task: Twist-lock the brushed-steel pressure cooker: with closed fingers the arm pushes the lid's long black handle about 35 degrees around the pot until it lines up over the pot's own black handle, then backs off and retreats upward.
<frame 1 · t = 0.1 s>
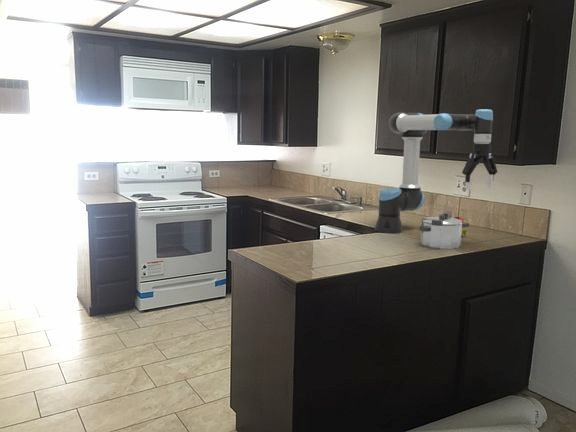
hand: (478, 188, 236), 28 cm above the worktop, fingers open, 13 cm apart
bird rattle: (456, 236, 265), on the worktop
lid: (443, 217, 244), point 13 cm above the worktop, hinge at 35.0°
pot: (440, 244, 244), on the worktop
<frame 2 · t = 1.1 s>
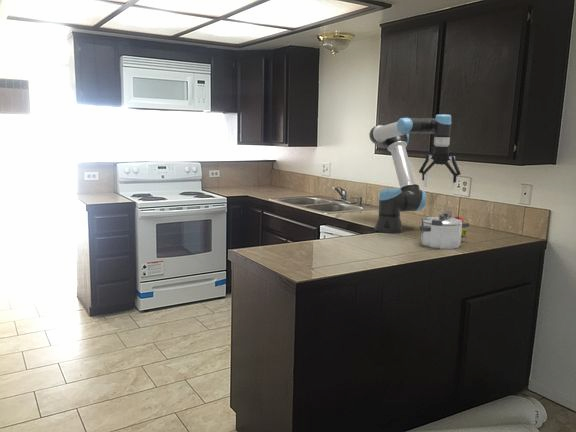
hand: (438, 188, 253), 26 cm above the worktop, fingers open, 13 cm apart
nothing on the worktop moved.
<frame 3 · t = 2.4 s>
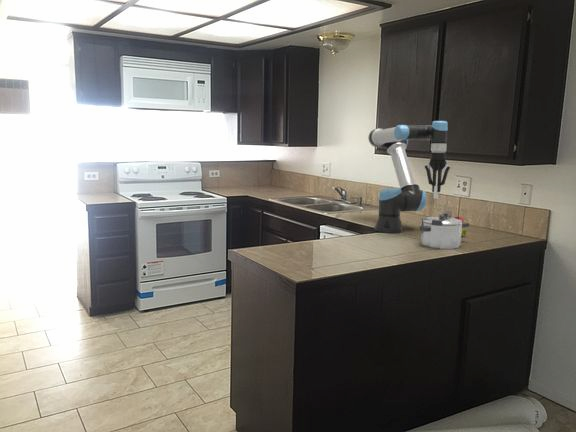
hand: (435, 198, 255), 21 cm above the worktop, fingers closed
nothing on the worktop moved.
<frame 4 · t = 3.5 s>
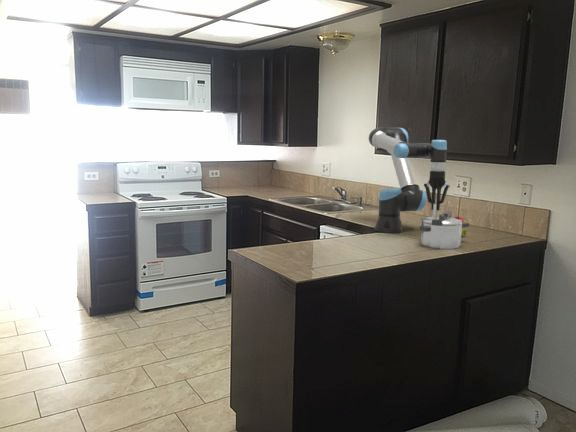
hand: (435, 216, 256), 11 cm above the worktop, fingers closed
nothing on the worktop moved.
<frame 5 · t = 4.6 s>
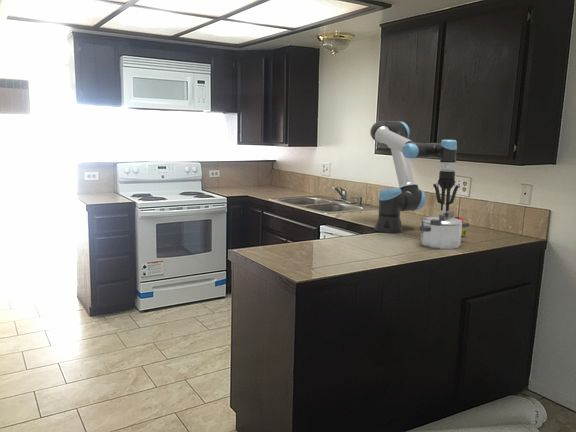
hand: (444, 217, 254), 12 cm above the worktop, fingers closed
lid: (443, 217, 244), point 13 cm above the worktop, hinge at 32.0°, touching gripper
everything else where it was.
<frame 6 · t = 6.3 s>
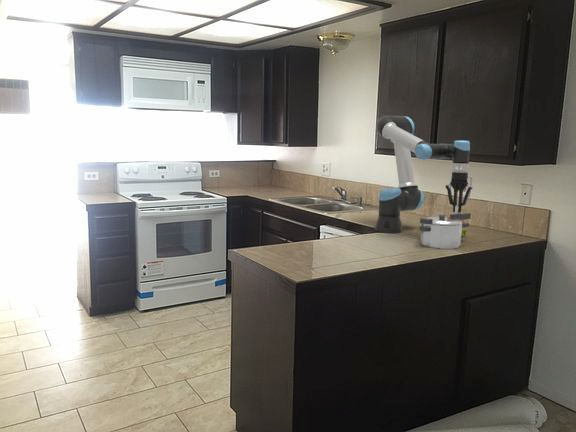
hand: (456, 218, 251), 11 cm above the worktop, fingers closed
lid: (446, 217, 243), point 13 cm above the worktop, hinge at 4.0°, touching gripper
everything else where it was.
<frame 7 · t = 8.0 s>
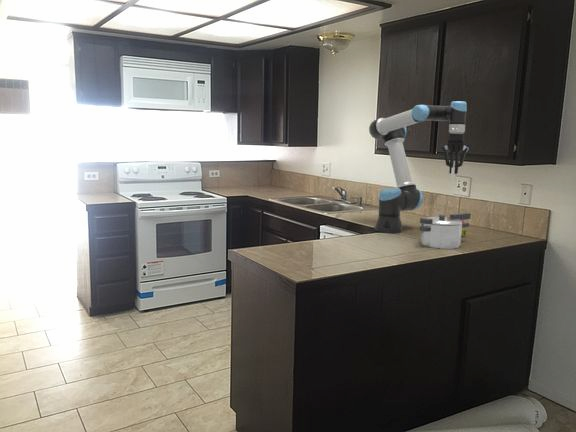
hand: (452, 180, 253), 30 cm above the worktop, fingers closed
lid: (446, 217, 243), point 13 cm above the worktop, hinge at 3.9°
everything else where it was.
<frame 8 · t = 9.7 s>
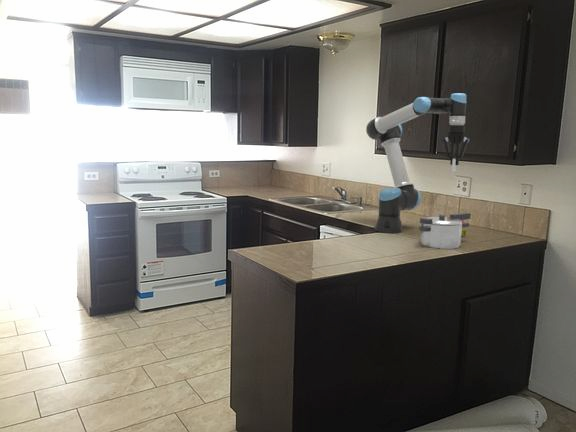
hand: (453, 171, 255), 34 cm above the worktop, fingers closed
nothing on the worktop moved.
at the end: lid at +4° (first picture: +35°) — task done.
